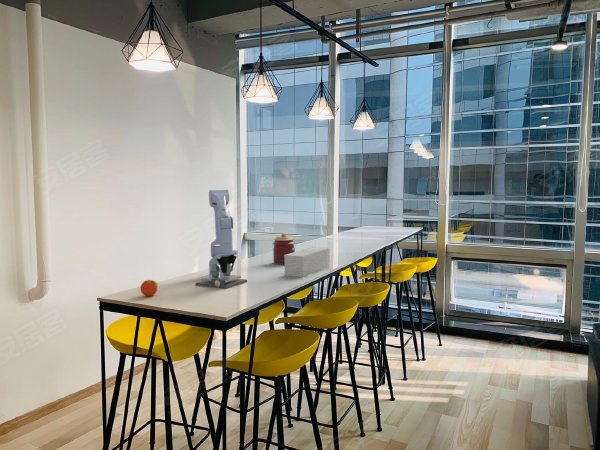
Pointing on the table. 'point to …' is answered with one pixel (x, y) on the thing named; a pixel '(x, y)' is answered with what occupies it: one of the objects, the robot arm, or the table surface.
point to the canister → (282, 248)
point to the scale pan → (222, 278)
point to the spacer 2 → (228, 270)
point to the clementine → (148, 287)
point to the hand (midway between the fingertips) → (227, 271)
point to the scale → (221, 283)
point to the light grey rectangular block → (306, 261)
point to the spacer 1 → (215, 270)
